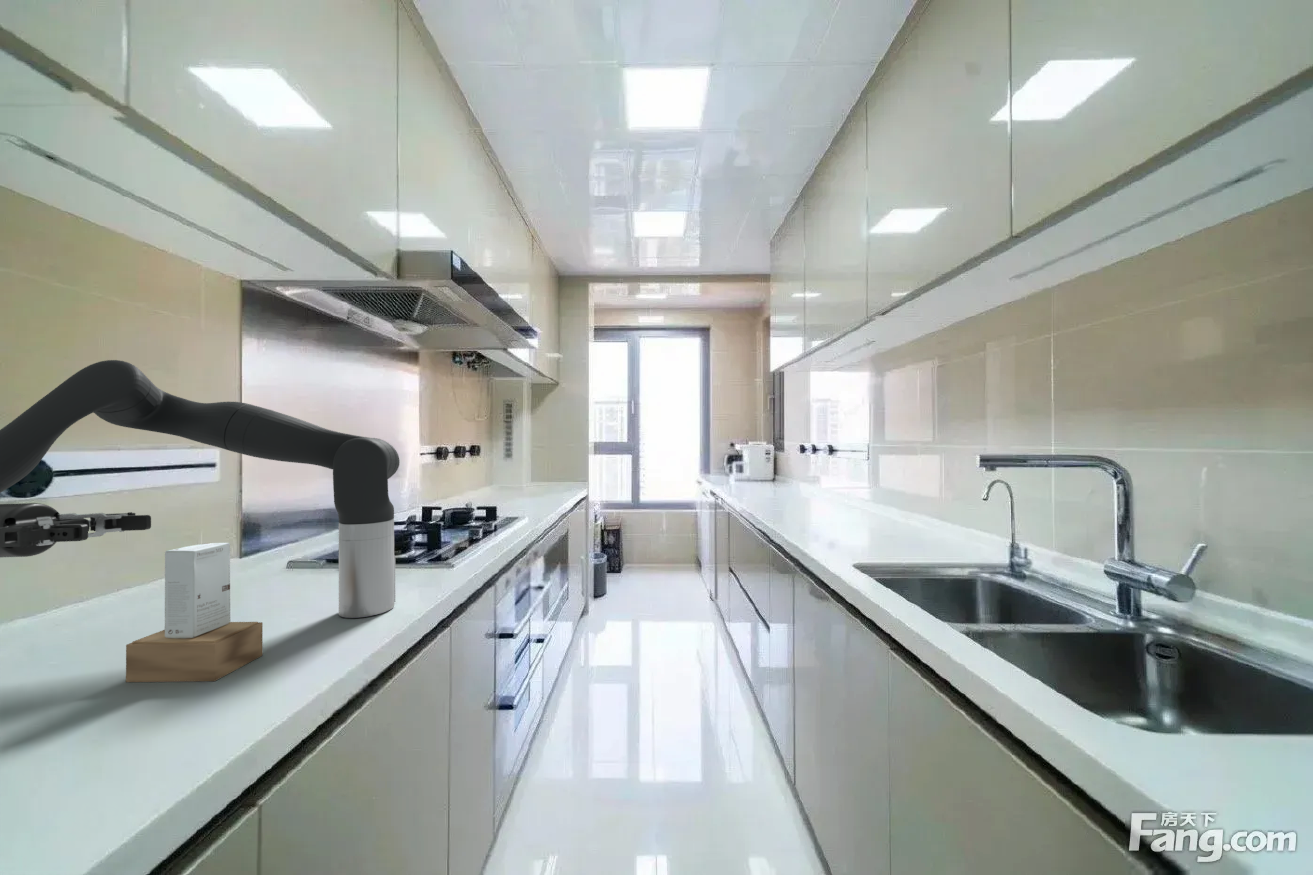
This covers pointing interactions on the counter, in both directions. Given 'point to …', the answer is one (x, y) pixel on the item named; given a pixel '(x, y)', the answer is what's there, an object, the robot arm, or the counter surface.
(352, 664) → the counter surface
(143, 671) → the block
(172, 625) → the skincare box
